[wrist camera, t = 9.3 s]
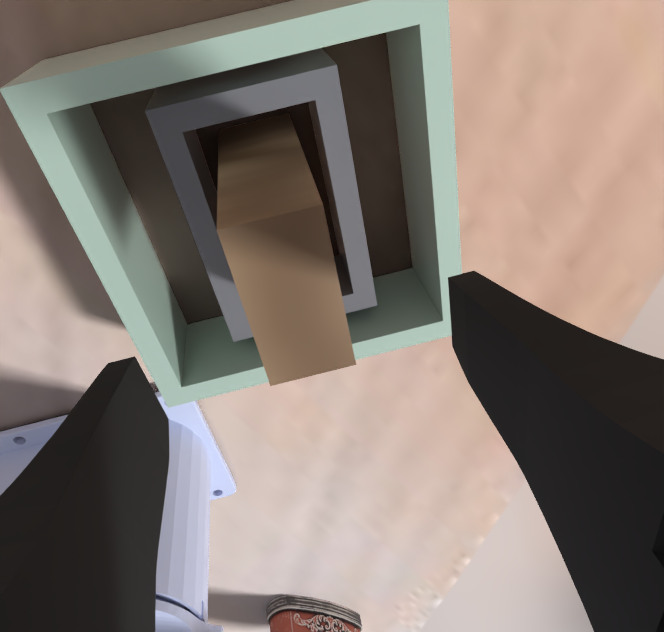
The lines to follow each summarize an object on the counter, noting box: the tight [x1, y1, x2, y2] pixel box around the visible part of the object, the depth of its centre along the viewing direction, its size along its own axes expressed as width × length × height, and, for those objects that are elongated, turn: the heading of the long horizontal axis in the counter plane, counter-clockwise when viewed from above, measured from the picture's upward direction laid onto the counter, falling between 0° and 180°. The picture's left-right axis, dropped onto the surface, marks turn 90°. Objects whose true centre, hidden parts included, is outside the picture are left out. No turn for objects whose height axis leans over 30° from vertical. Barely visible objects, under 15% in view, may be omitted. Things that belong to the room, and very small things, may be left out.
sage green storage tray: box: [0, 0, 462, 408], centre depth 19 cm, size 12×12×4 cm
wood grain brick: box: [217, 113, 356, 386], centre depth 17 cm, size 2×5×8 cm, turn 10°
